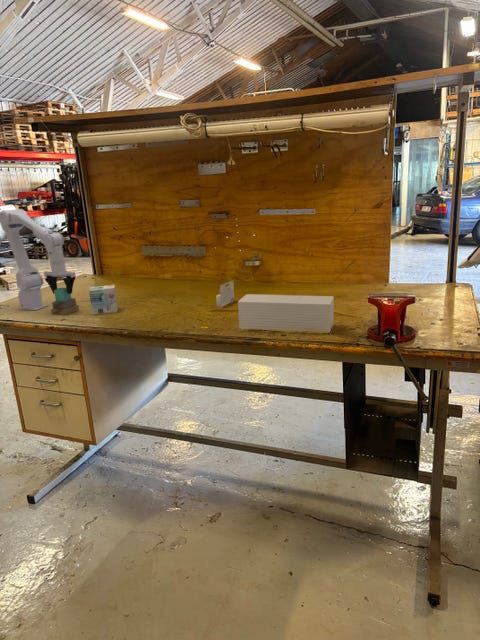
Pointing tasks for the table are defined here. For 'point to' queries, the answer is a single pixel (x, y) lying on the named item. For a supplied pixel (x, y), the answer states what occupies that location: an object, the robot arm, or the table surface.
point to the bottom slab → (65, 311)
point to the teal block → (62, 294)
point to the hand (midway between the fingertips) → (62, 293)
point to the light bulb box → (103, 299)
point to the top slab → (64, 304)
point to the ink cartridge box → (225, 294)
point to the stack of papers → (286, 312)
